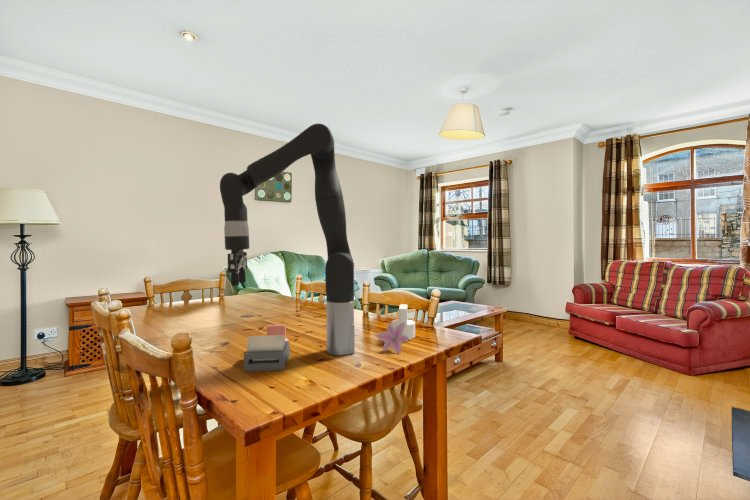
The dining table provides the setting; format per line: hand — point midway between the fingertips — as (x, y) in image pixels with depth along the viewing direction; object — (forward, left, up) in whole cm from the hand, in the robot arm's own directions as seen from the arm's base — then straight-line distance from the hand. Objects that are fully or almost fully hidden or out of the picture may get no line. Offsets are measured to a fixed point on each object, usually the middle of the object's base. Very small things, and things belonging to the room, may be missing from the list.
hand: (238, 284), depth 117 cm
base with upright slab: (-57, -11, -23) cm, 63 cm away
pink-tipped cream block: (-11, +6, -21) cm, 24 cm away
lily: (-51, +3, -23) cm, 57 cm away
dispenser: (-11, +11, -23) cm, 28 cm away
